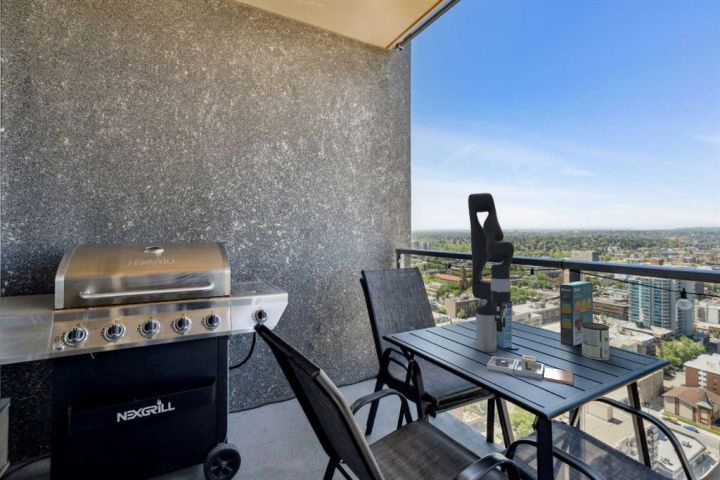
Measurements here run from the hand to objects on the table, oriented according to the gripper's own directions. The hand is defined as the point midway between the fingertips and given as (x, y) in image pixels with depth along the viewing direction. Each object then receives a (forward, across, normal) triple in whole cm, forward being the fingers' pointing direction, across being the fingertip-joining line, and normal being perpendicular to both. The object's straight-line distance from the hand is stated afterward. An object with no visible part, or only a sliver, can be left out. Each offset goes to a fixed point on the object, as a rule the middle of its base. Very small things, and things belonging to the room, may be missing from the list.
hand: (501, 329), depth 137 cm
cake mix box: (+16, -60, +28) cm, 69 cm away
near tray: (+16, -2, 0) cm, 16 cm away
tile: (+16, -2, +20) cm, 26 cm away
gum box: (+16, -38, -8) cm, 42 cm away
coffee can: (+16, -36, +34) cm, 52 cm away
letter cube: (+15, -2, +10) cm, 19 cm away
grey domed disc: (+15, -2, 0) cm, 16 cm away
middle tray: (+16, -2, +10) cm, 19 cm away
